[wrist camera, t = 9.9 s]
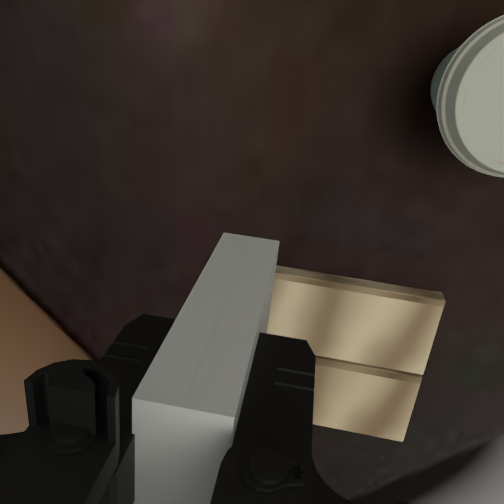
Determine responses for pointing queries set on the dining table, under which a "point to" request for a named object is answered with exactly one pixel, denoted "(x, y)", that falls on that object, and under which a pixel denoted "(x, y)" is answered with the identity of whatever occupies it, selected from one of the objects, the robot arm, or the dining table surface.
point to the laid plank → (363, 398)
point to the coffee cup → (474, 99)
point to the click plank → (356, 318)
